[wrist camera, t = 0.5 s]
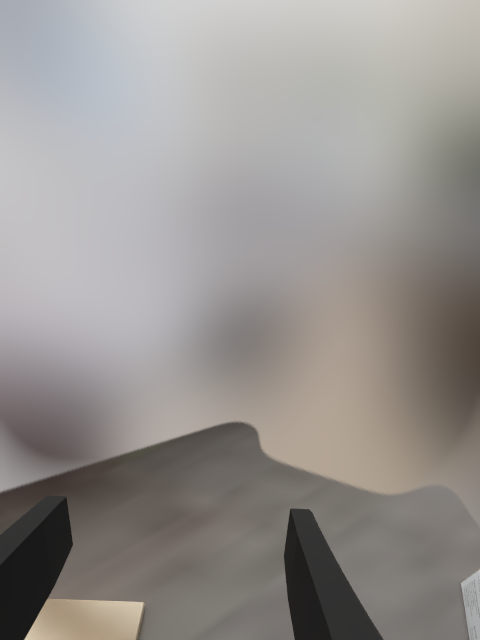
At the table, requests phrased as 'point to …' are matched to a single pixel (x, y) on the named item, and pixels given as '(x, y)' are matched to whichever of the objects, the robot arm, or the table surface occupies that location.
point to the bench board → (87, 620)
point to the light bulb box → (472, 604)
